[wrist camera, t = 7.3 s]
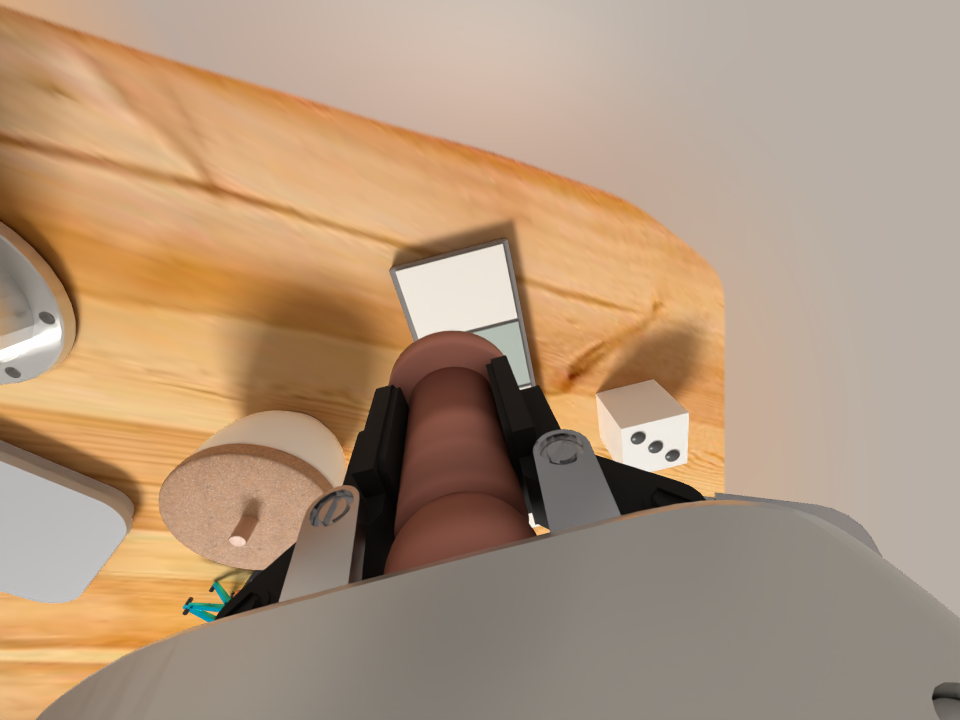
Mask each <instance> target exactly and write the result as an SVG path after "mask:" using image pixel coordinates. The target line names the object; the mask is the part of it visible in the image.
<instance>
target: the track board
mask: <svg viewBox="0 0 960 720" xmlns="http://www.w3.org/2000/svg"><path fill="white" fill-rule="evenodd" d="M389 272H390V275H391V277H392V280H393V283H394V286H395V289H396V292H397V294H398V297H399V300H400V303H401V306H402V309H403V311H404V314H405V317H406V320H407V323H408V326H409V328H410V331H411V334H412V337H413V340H414V342H415V341H417V340H418V339H420V338H422V337H424V336H426V335H429V334H432V333H436V332H441V331H451V330H454V331H464V332H470V333H473V334H476V335H479V336H481V337H483V338H485V339H487V340H488V341H490V342H491V343H493V344H494V345H495V346H496V347H497V348H498V349H499V350H500V351H501V352H502V353H503V355H506V356H507V359H508V361H509V364H510V366H511V369H512V371H513V374H514V376H515V379H516V381H517V384H518V386H519V389H520V390H522V389H525V388H529V387H533V386H536V384H535V379H534V374H533V368H532V363H531V358H530V353H529V347H528V342H527V337H526V332H525V327H524V321H523V316H522V311H521V306H520V300H519V295H518V290H517V285H516V280H515V274H514V269H513V264H512V259H511V253H510V248H509V243H508V239H507V238H502V239H498V240H494V241H490V242H486V243H483V244H479V245H475V246H471V247H467V248H463V249H459V250H456V251H452V252H448V253H444V254H440V255H436V256H432V257H429V258H425V259H421V260H417V261H413V262H409V263H406V264H402V265H398V266H394V267H391V268H390V270H389ZM529 524H530V525H531V527H532V528H533V527H537V526H541V525H539V524H537V525H535V522H534V518H533V515H532V513H530V514H529Z"/></svg>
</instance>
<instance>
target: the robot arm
mask: <svg viewBox="0 0 960 720" xmlns="http://www.w3.org/2000/svg"><path fill="white" fill-rule="evenodd" d="M75 336H76V320H75V316H74V312H73V308H72V304H71V302H70V300H69V298H68V295H67V293H66V291H65V289H64V287H63V285H62V283H61V282H60V280H59V279H58V278H57V276H56V275H55V273H54V272H53V270H52V269H51V267H50V266H49V265H48V264H47V263H46V262H45V260H44V259H43V258H42V257H41V256H40V255H39V254H38V253H37V252H36V250H35V249H34V248H33V247H32V246H30V245H29V244H28V243H27V242H26V241H25V240H23V239H22V238H21V237H20V236H19V235H18V234H17V233H15V232H14V231H13V230H12V229H10V228H9V227H8V226H6V225H5V224H3V223H2V222H0V385H4V384H12V383H20V382H23V381H27V380H30V379H33V378H36V377H38V376H40V375H42V374H44V373H46V372H48V371H50V370H52V369H54V368H55V367H56V366H58V365H59V364H60V363H61V362H63V361H64V360H65V358H66V357H67V355H68V354H69V352H70V351H71V349H72V347H73V343H74V340H75ZM486 369H487V372H488V376H489V380H490V384H491V388H492V392H493V395H494V399H495V403H496V407H497V410H498V414H499V418H500V422H501V426H502V429H503V433H504V437H505V441H506V444H507V448H508V452H509V456H510V459H511V463H512V467H513V468H514V470H515V471H516V473H517V475H518V478H519V481H520V485H521V488H522V492H523V496H524V499H525V503H526V506H527V510H528V514H530V513H532V515H533V518H534V522H535V525H537V524H539V525H541V526H543V527H545V528H547V529H549V530H550V533H546V534H542V535H538V536H534V537H530V538H526V539H522V540H518V541H514V542H510V543H506V544H502V545H498V546H494V547H490V548H486V549H482V550H478V551H474V552H471V553H467V554H463V555H459V556H455V557H451V558H447V559H443V560H439V561H435V562H431V563H428V564H424V565H420V566H416V567H412V568H408V569H404V570H400V571H396V572H393V573H389V574H385V575H384V569H385V564H386V560H387V557H388V555H389V552H390V549H391V547H392V544H393V542H394V540H395V535H394V527H395V519H396V511H397V503H398V494H399V486H400V478H401V470H402V462H403V453H404V445H405V437H406V429H407V421H408V412H409V407H408V404H407V402H406V399H405V397H404V394H403V392H402V389H401V388H400V387H398V388H395V386H394V385H389V386H386V387H382V388H378V389H376V391H375V394H374V398H373V401H372V405H371V408H370V412H369V415H368V418H367V422H366V425H365V429H364V431H361V432H359V434H358V436H357V440H356V443H355V446H354V449H353V452H352V456H351V459H350V462H349V465H348V469H347V472H346V475H345V478H344V481H343V485H342V486H338V487H335V488H333V489H330V490H328V491H326V492H325V493H323V494H322V495H320V496H319V497H318V498H317V499H316V500H315V501H314V502H313V503H312V504H311V505H310V506H309V508H308V509H307V511H306V513H305V515H304V518H303V521H302V525H301V528H300V531H299V535H298V538H297V541H296V542H295V543H294V544H293V545H292V546H291V547H290V548H288V549H287V550H286V551H285V552H284V553H283V554H282V555H280V556H279V557H278V558H277V559H276V560H275V561H274V562H272V563H271V564H270V565H269V566H268V567H267V568H265V569H264V570H263V571H262V572H261V573H260V574H259V575H257V576H256V577H255V578H254V579H253V580H252V581H251V582H249V583H248V584H247V585H246V586H245V587H244V588H243V589H241V590H240V591H239V592H238V593H237V594H236V595H235V596H233V597H232V598H231V599H230V600H229V601H228V602H227V603H226V604H225V605H224V606H223V608H222V609H221V610H220V612H219V613H218V615H217V616H216V617H215V619H214V621H211V622H208V623H205V624H201V625H198V626H195V627H192V628H189V629H185V630H182V631H180V632H177V633H174V634H172V635H169V636H167V637H164V638H162V639H159V640H156V641H154V642H151V643H149V644H147V645H145V646H143V647H141V648H139V649H137V650H135V651H133V652H131V653H128V654H126V655H124V656H122V657H121V658H119V659H117V660H116V661H114V662H112V663H110V664H109V665H107V666H105V667H104V668H102V669H100V670H99V671H97V672H95V673H94V674H92V675H90V676H88V677H87V678H86V679H84V680H83V681H81V682H80V683H78V684H77V685H75V686H74V687H72V688H71V689H70V690H68V691H67V692H66V693H64V694H63V695H62V696H60V697H59V698H58V699H56V700H55V701H54V702H53V703H52V704H51V705H50V706H48V707H47V708H46V709H45V710H44V711H43V712H42V713H41V714H40V715H39V716H38V717H37V718H36V719H35V720H960V618H959V617H958V616H956V615H955V614H954V613H953V612H952V611H950V610H949V609H948V608H947V607H946V606H944V605H943V604H942V603H941V602H939V601H938V600H937V599H936V598H934V597H933V596H932V595H931V594H930V593H928V592H927V591H926V590H924V589H923V588H922V587H921V586H919V585H918V584H917V583H916V582H914V581H913V580H912V579H910V578H909V577H908V576H907V575H905V574H904V573H903V572H901V571H900V570H899V569H898V568H896V567H895V566H894V565H892V564H891V563H890V562H888V561H887V560H885V559H884V558H883V557H882V555H881V554H880V552H879V550H878V548H877V546H876V545H875V543H874V541H873V539H872V537H871V536H870V535H869V534H868V532H867V531H866V530H865V529H864V528H863V526H862V525H861V524H859V523H858V522H856V521H855V520H854V519H852V518H851V517H849V516H848V515H846V514H843V513H841V512H839V511H837V510H835V509H832V508H828V507H824V506H820V505H815V504H805V503H798V502H790V501H782V500H773V499H765V498H756V497H748V496H740V495H731V494H723V493H715V496H714V498H713V497H705V496H702V494H701V493H700V492H698V491H697V490H695V489H694V488H693V487H691V486H689V485H687V484H684V483H682V482H679V481H676V480H673V479H670V478H667V477H664V476H660V475H657V474H654V473H651V472H648V471H645V470H641V469H638V468H635V467H632V466H629V465H626V464H622V463H619V462H616V461H613V460H610V459H607V458H603V457H600V456H597V455H595V454H594V451H593V449H592V447H591V444H590V442H589V441H588V439H587V438H586V437H585V436H583V435H582V434H581V433H579V432H576V431H573V430H566V429H562V430H561V429H560V427H559V425H558V423H557V421H556V419H555V417H554V415H553V413H552V411H551V409H550V407H549V405H548V403H547V401H546V399H545V397H544V395H543V393H542V391H541V389H540V387H539V386H538V385H537V386H533V387H529V388H525V389H522V390H520V389H519V386H518V384H517V381H516V379H515V376H514V374H513V371H512V369H511V366H510V364H509V361H508V359H507V356H506V355H504V356H500V357H496V358H493V359H491V363H490V364H486Z"/></svg>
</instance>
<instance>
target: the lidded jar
mask: <svg viewBox="0 0 960 720" xmlns="http://www.w3.org/2000/svg"><path fill="white" fill-rule="evenodd" d="M346 472H347V464H346V459H345V455H344V451H343V449H342V447H341V445H340V443H339V441H338V440H337V438H336V437H335V435H334V434H333V433H332V432H331V431H330V430H329V429H328V428H327V427H326V426H325V425H324V424H323V423H321V422H320V421H319V420H317V419H316V418H314V417H312V416H310V415H307V414H304V413H300V412H293V411H281V410H274V411H264V412H259V413H254V414H251V415H248V416H245V417H243V418H240V419H238V420H235V421H234V422H232V423H230V424H228V425H227V426H225V427H223V428H222V429H220V430H219V431H217V432H216V433H215V434H213V435H212V436H211V437H210V438H208V439H207V440H206V441H205V442H204V443H202V444H201V445H200V446H199V447H198V448H197V449H196V450H195V451H194V452H193V453H192V454H191V455H190V456H189V457H188V458H186V459H185V460H184V461H183V462H182V463H180V464H179V465H178V466H177V467H176V468H175V469H174V470H173V471H172V472H171V473H170V474H169V476H168V477H167V478H166V480H165V481H164V482H163V485H162V487H161V489H160V494H159V510H160V514H161V516H162V519H163V521H164V523H165V525H166V526H167V528H168V530H169V531H170V532H171V533H172V534H173V535H174V536H175V538H176V539H178V540H179V541H180V542H181V543H182V544H183V545H184V546H186V547H187V548H189V549H190V550H192V551H194V552H195V553H197V554H199V555H201V556H203V557H205V558H207V559H210V560H212V561H215V562H217V563H221V564H224V565H227V566H231V567H237V568H242V569H252V570H264V569H265V568H267V567H268V566H269V565H270V564H271V563H272V562H274V561H275V560H276V559H277V558H278V557H279V556H280V555H282V554H283V553H284V552H285V551H286V550H287V549H288V548H290V547H291V546H292V545H293V544H294V543H295V542H296V541H297V538H298V535H299V531H300V528H301V525H302V521H303V518H304V515H305V513H306V511H307V509H308V508H309V506H310V505H311V504H312V503H313V502H314V501H315V500H316V499H317V498H318V497H319V496H320V495H322V494H323V493H325V492H326V491H328V490H330V489H333V488H335V487H338V486H342V485H343V481H344V478H345V475H346Z"/></svg>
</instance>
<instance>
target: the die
mask: <svg viewBox="0 0 960 720" xmlns="http://www.w3.org/2000/svg"><path fill="white" fill-rule="evenodd" d="M596 401H597V410H598V420H599V429H600V438H601V440H602V442H603V443H604V445H605V447H606V448H607V450H608V452H609V453H610V455H611V457H612V458H613V460H614V461H616V462H619V463H622V464H626V465H629V466H632V467H635V468H638V469H641V470H645V471H648V472H652V471H656V470H661V469H665V468H669V467H673V466H677V465H681V464H686V463H687V449H688V424H689V412H688V411H687V410H686V409H685V408H684V407H683V406H681V405H680V404H679V403H678V402H677V401H676V400H675V399H674V398H673V397H672V396H671V395H670V394H669V393H668V392H667V391H666V390H665V389H664V388H663V387H662V386H660V385H659V384H658V383H657V382H656V381H655V380H654V379H652V380H648V381H644V382H640V383H636V384H632V385H628V386H623V387H619V388H615V389H611V390H607V391H603V392H599V393H596Z"/></svg>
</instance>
